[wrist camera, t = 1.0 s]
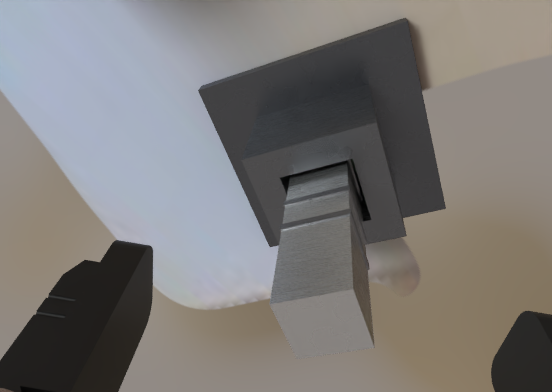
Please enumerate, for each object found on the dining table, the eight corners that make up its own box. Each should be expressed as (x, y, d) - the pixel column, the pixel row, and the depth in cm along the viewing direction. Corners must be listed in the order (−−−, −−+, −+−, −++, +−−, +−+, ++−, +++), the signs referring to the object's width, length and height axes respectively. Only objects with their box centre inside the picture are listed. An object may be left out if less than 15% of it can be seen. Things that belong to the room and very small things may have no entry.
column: (346, 122, 35) (355, 286, 20) (360, 169, 37) (378, 349, 22) (293, 137, 36) (265, 302, 21) (310, 181, 39) (294, 361, 23)
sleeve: (405, 17, 32) (424, 48, 25) (443, 202, 40) (465, 263, 33) (201, 86, 36) (171, 127, 30) (271, 240, 44) (259, 301, 37)
